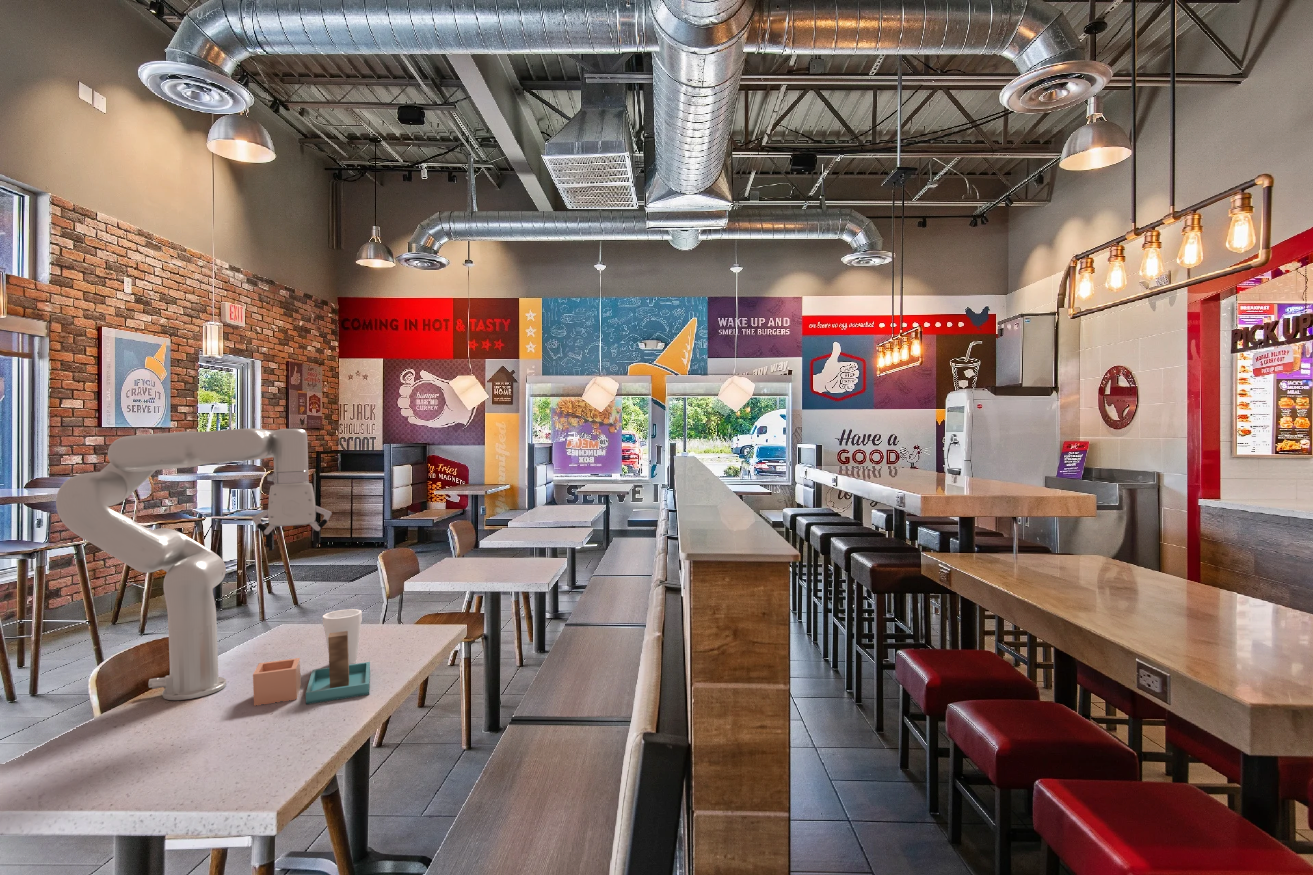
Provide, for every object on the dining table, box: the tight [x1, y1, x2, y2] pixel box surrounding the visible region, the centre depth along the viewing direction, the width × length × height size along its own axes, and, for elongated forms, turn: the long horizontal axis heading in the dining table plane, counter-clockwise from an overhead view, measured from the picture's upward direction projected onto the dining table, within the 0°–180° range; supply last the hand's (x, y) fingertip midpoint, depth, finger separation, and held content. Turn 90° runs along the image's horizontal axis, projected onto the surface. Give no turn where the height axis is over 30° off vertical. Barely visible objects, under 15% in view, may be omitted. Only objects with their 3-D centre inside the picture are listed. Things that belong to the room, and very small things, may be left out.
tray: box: [305, 661, 371, 705], centre depth 164 cm, size 13×17×2 cm
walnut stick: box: [328, 631, 349, 688], centre depth 164 cm, size 4×4×12 cm
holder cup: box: [252, 657, 302, 707], centre depth 159 cm, size 8×8×7 cm
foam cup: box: [322, 608, 363, 665], centre depth 182 cm, size 10×9×13 cm
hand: (293, 548), depth 170 cm, fingers open, 9 cm apart
